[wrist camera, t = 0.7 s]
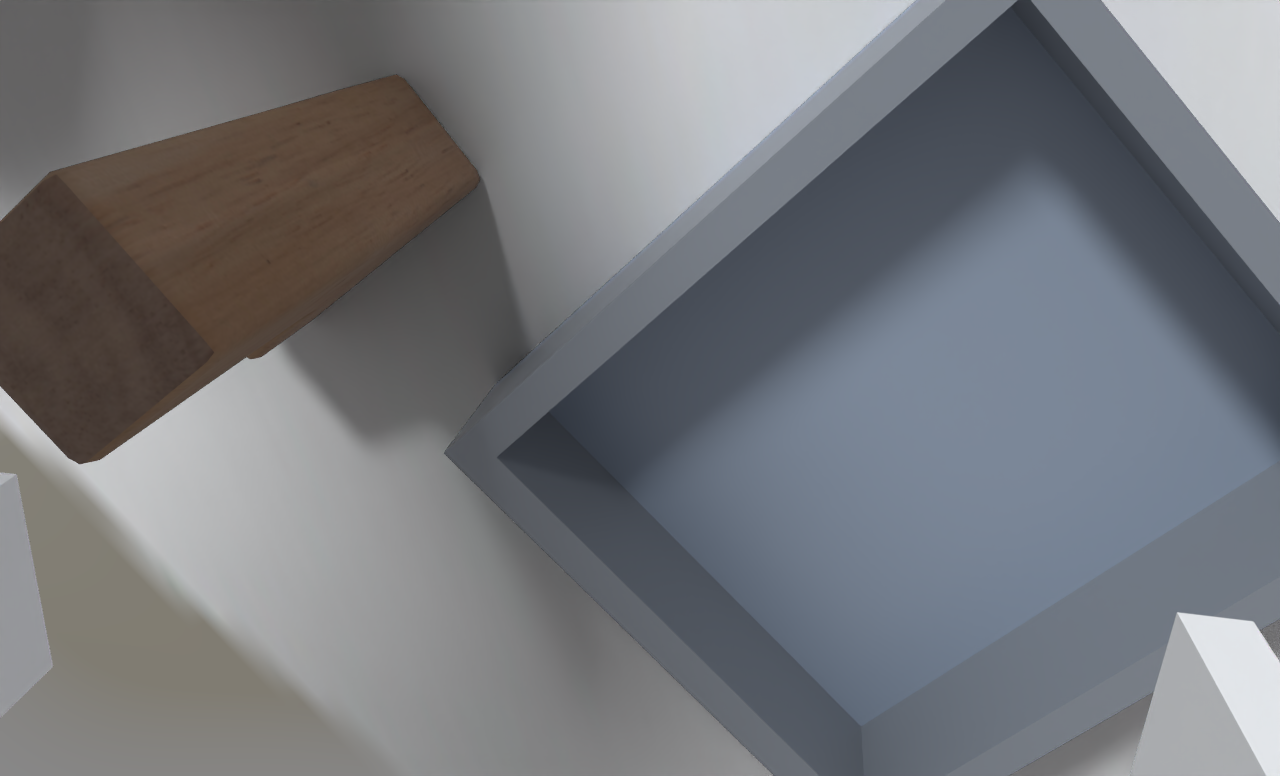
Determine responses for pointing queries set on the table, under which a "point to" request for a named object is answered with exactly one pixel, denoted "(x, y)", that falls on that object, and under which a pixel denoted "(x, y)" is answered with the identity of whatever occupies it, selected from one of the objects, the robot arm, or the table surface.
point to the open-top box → (923, 405)
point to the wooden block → (207, 253)
